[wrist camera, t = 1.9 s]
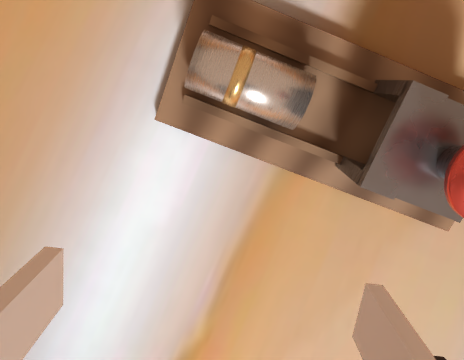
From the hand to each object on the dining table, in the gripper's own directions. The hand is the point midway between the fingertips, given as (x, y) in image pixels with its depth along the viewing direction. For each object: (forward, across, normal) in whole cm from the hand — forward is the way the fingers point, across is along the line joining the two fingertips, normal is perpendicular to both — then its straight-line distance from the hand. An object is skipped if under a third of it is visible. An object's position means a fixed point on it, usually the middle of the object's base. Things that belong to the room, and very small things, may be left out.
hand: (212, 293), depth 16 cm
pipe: (+21, +1, +9) cm, 23 cm away
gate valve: (+22, +18, +4) cm, 29 cm away
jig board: (+23, +10, +7) cm, 26 cm away
